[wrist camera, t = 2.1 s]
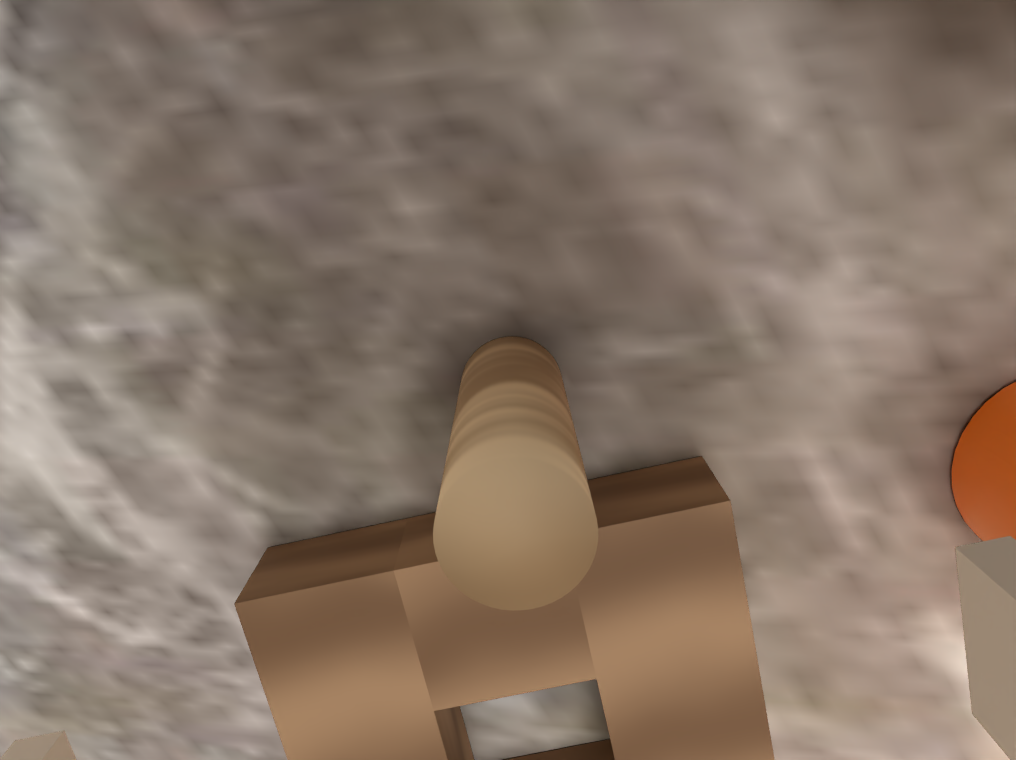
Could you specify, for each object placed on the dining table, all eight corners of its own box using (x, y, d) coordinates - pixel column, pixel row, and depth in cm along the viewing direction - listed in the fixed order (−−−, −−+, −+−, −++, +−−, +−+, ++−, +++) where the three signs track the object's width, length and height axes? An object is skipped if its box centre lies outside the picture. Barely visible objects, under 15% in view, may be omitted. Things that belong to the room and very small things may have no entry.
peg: (450, 348, 29) (414, 477, 18) (550, 326, 29) (580, 442, 18) (474, 443, 30) (454, 624, 19) (571, 422, 30) (612, 592, 19)
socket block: (267, 547, 31) (234, 603, 27) (702, 456, 30) (730, 500, 27) (380, 895, 35) (365, 986, 31) (766, 823, 34) (799, 908, 31)
